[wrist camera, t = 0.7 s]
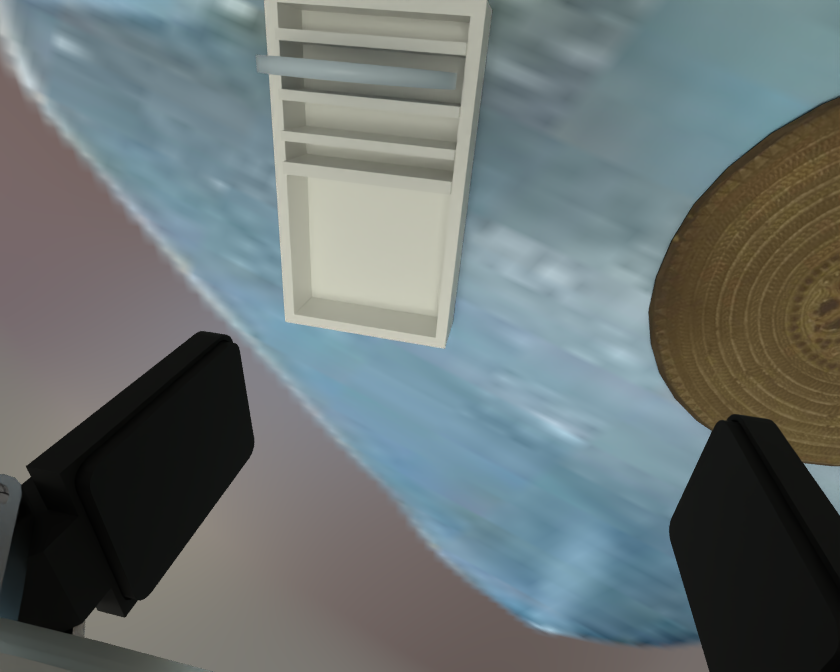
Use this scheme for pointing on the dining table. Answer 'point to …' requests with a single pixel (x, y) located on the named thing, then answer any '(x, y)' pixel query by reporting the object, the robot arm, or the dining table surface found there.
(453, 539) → the dining table surface
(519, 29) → the dining table surface
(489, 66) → the dining table surface
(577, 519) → the dining table surface
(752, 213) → the decorative disc
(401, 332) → the rack
